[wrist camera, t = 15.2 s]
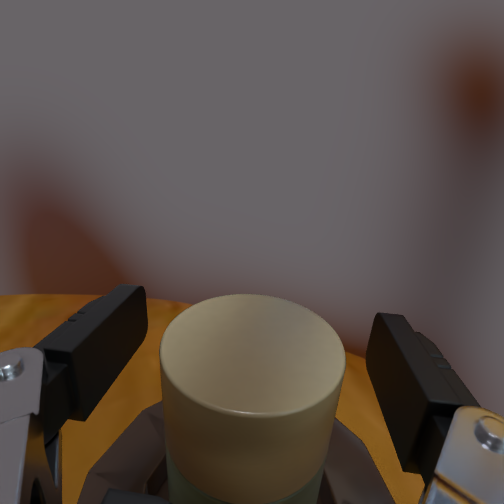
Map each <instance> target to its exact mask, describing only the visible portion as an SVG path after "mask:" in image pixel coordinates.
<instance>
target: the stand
mask: <svg viewBox="0 0 504 504" xmlns="http://www.w3.org/2000/svg"><path fill="white" fill-rule="evenodd" d="M108 488H112V489H118V490H124V491H130V492H136V493H142V494H147V495H153V496H159V497H161V498H163V499H165V500H167V501H168V502H169V491H168V476H167V461H166V446H165V431H164V416H163V401H160V402H158V403H156V404H154V405H152V406H150V407H148V408H146V409H144V410H143V411H142V412H141V413H140V414H139V415H138V416H137V417H136V418H135V420H134V421H133V422H132V423H131V424H130V425H129V426H128V427H127V429H126V430H125V431H124V432H123V433H122V434H121V435H120V436H119V438H118V439H117V440H116V441H115V442H114V443H113V444H112V446H111V447H110V448H109V449H108V450H107V451H106V452H105V453H104V455H103V456H102V457H101V458H100V459H99V460H98V461H97V462H96V464H95V465H94V466H93V467H92V468H91V469H90V470H89V472H88V474H87V477H86V479H85V482H84V485H83V488H82V491H81V494H80V496H79V499H78V502H77V504H101V502H102V500H103V498H104V496H105V494H106V492H107V490H108ZM316 504H396V503H395V501H394V500H393V498H392V496H391V494H390V492H389V490H388V488H387V486H386V484H385V482H384V480H383V478H382V477H381V475H380V473H379V471H378V469H377V467H376V465H375V463H374V461H373V459H372V457H371V455H370V454H369V452H368V450H367V448H366V446H365V444H364V443H363V441H362V440H361V439H359V438H358V437H357V436H356V435H355V434H354V433H352V432H351V431H350V430H349V429H348V428H347V427H346V426H344V425H343V424H342V423H341V422H340V421H339V420H338V419H336V418H335V419H334V424H333V428H332V433H331V438H330V442H329V447H328V452H327V456H326V461H325V466H324V470H323V475H322V480H321V484H320V489H319V494H318V498H317V503H316Z"/></svg>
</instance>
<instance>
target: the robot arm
mask: <svg viewBox="0 0 504 504" xmlns="http://www.w3.org/2000/svg"><path fill="white" fill-rule="evenodd" d="M147 329H148V318H147V305H146V293H145V289H144V287H143V286H137V285H128V284H120V285H118V286H117V287H116V288H114V290H112V291H111V292H110V293H109V294H107V295H106V296H102V297H100V298H98V299H96V300H93V301H91V302H89V303H88V304H86V305H85V306H84V307H83V308H81V309H80V310H79V311H78V312H77V314H76V313H75V314H74V315H73V316H71V317H70V318H69V319H68V321H65V322H64V323H63V324H61V325H60V326H59V327H58V328H56V329H55V330H54V331H53V332H51V333H50V334H49V335H48V336H46V337H45V338H44V339H43V340H41V341H40V342H39V343H38V344H36V345H35V346H34V347H33V348H30V347H23V348H16V349H11V350H7V351H4V352H1V353H0V504H62V432H61V427H62V426H63V424H64V423H65V422H66V421H67V419H70V420H77V421H84V422H85V421H86V419H87V418H88V417H89V415H90V414H91V412H92V411H93V410H94V408H95V407H96V406H97V404H98V403H99V401H100V400H101V399H102V397H103V396H104V395H105V393H106V392H107V390H108V389H109V388H110V386H111V385H112V384H113V382H114V381H115V379H116V378H117V377H118V375H119V374H120V373H121V371H122V370H123V368H124V367H125V366H126V364H127V363H128V362H129V360H130V359H131V357H132V356H133V355H134V353H135V352H136V351H137V349H138V348H139V346H140V345H141V344H142V342H143V341H144V339H145V337H146V334H147ZM366 367H367V371H368V374H369V377H370V380H371V382H372V385H373V388H374V391H375V394H376V397H377V399H378V402H379V405H380V408H381V411H382V413H383V416H384V419H385V422H386V425H387V428H388V430H389V433H390V436H391V439H392V442H393V444H394V447H395V450H396V453H397V456H398V459H399V461H400V464H401V467H402V470H403V472H409V473H415V474H421V476H422V478H423V481H424V483H425V486H424V489H423V491H422V494H421V496H420V499H419V502H418V504H504V417H502V416H500V415H499V414H497V413H494V412H492V411H490V410H487V409H485V408H481V406H480V405H479V404H478V402H477V401H476V400H475V398H474V397H473V396H472V394H471V393H470V391H469V390H468V389H467V387H466V386H465V385H464V383H463V382H462V380H461V379H460V378H459V376H458V375H457V374H456V372H455V371H454V370H453V369H451V366H450V364H449V363H448V362H447V360H446V359H444V358H443V355H442V353H441V352H440V351H439V349H438V348H437V347H436V345H435V344H434V343H433V342H432V341H430V340H429V339H428V338H426V337H425V336H424V335H423V334H421V333H420V332H414V330H413V329H412V327H411V326H410V324H409V323H408V322H407V320H406V319H405V317H404V316H403V315H398V314H388V313H377V314H376V316H375V318H374V322H373V326H372V330H371V334H370V338H369V342H368V346H367V351H366ZM101 504H172V503H170V502H168V501H167V500H165V499H163V498H161V497H159V496H153V495H147V494H142V493H136V492H130V491H124V490H118V489H112V488H108V490H107V492H106V494H105V496H104V498H103V500H102V502H101Z"/></svg>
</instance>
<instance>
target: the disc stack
mask: <svg viewBox="0 0 504 504" xmlns="http://www.w3.org/2000/svg"><path fill="white" fill-rule="evenodd" d="M159 357H160V372H161V386H162V401H163V416H164V431H165V446H166V461H167V476H168V491H169V502H170V503H172V504H316V503H317V498H318V494H319V489H320V484H321V480H322V475H323V470H324V466H325V461H326V456H327V452H328V447H329V442H330V438H331V433H332V428H333V424H334V419H335V415H336V410H337V405H338V401H339V396H340V391H341V387H342V382H343V377H344V373H345V368H346V357H345V351H344V348H343V345H342V342H341V340H340V338H339V336H338V335H337V333H336V332H335V331H334V329H333V328H332V327H331V326H330V325H329V324H328V323H327V322H326V321H325V320H324V319H322V318H321V317H320V316H319V315H317V314H315V313H314V312H312V311H311V310H309V309H307V308H305V307H303V306H301V305H299V304H296V303H294V302H291V301H288V300H285V299H281V298H277V297H271V296H266V295H257V294H256V295H255V294H235V295H227V296H221V297H215V298H212V299H208V300H205V301H203V302H200V303H197V304H195V305H193V306H191V307H190V308H188V309H186V310H184V311H183V312H182V313H180V314H179V315H178V316H177V317H176V318H175V319H174V320H173V321H172V322H171V323H170V324H169V326H168V327H167V329H166V331H165V332H164V334H163V337H162V340H161V343H160V349H159Z"/></svg>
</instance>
